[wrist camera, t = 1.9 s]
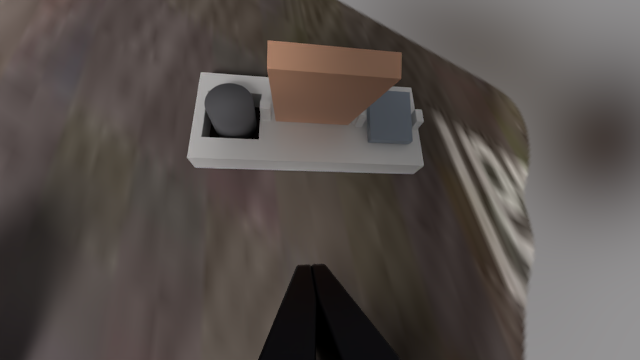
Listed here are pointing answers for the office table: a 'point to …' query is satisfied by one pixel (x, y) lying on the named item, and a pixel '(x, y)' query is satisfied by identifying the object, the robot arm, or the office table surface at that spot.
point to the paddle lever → (327, 81)
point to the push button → (231, 111)
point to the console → (298, 139)
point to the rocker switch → (390, 119)
